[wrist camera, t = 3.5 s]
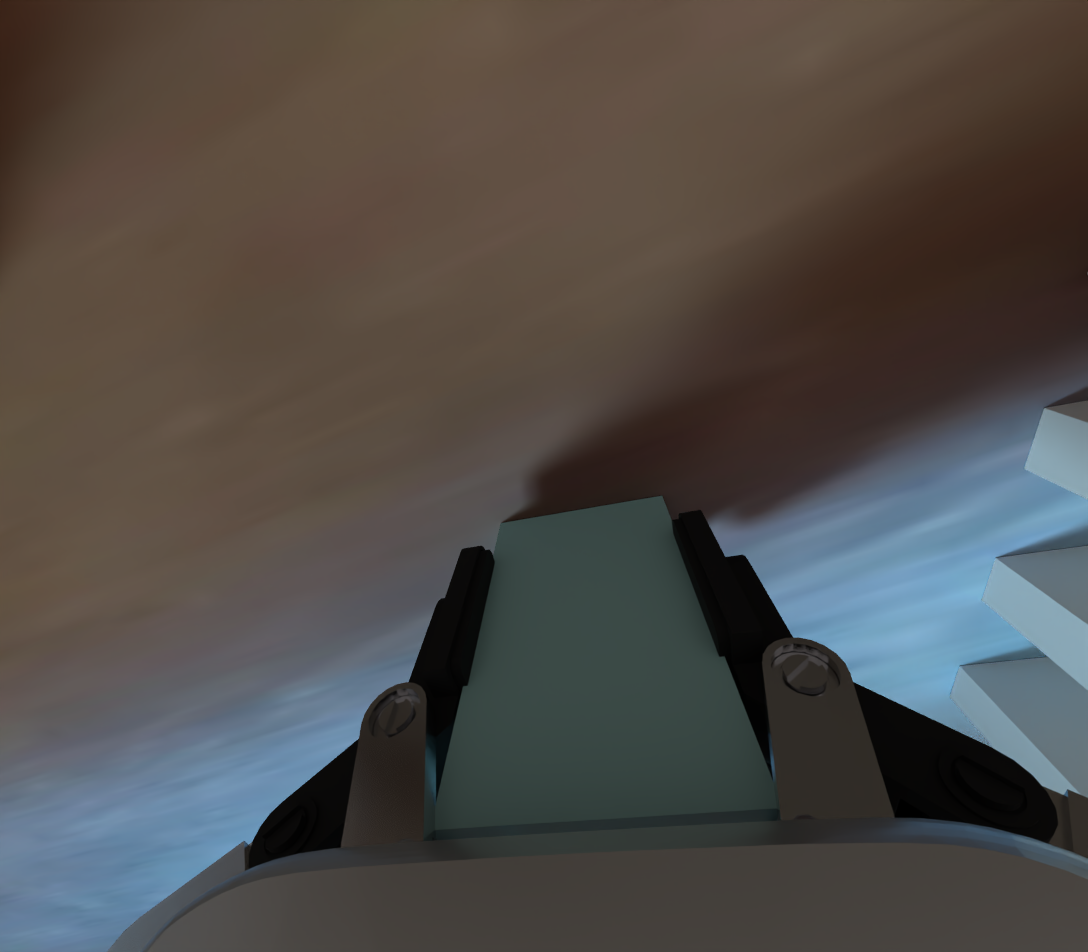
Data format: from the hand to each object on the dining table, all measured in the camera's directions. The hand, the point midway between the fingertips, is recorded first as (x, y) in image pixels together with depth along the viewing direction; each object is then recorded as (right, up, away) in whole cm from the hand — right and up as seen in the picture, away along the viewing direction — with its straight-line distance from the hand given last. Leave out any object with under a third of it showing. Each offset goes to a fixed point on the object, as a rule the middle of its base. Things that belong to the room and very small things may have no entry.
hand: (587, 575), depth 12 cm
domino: (0, +1, +2) cm, 2 cm away
